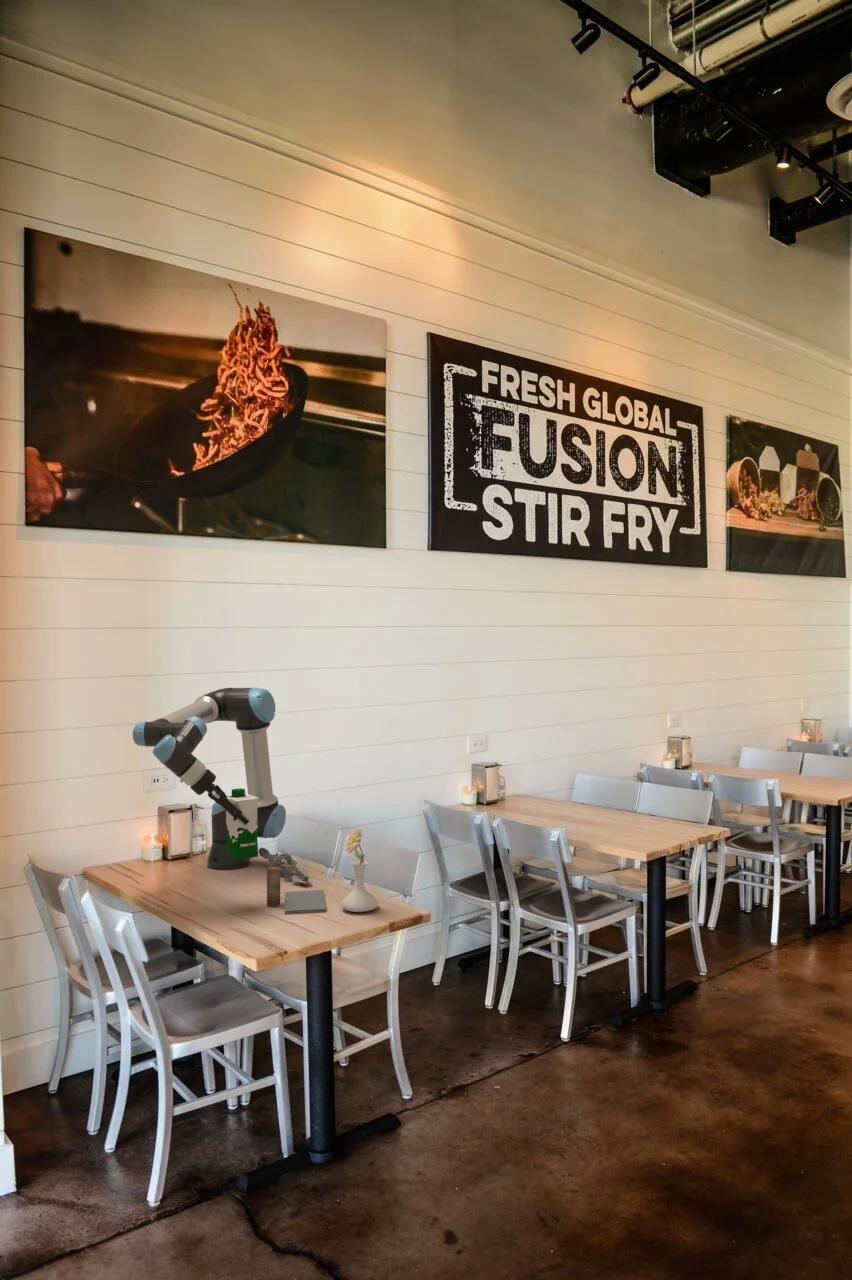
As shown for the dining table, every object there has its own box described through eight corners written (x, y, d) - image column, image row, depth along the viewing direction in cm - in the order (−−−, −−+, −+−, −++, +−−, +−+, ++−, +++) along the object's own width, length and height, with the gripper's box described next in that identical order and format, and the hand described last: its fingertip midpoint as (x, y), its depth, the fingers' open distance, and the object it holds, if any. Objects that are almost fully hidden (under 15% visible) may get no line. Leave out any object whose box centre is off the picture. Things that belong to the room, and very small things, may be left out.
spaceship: (272, 841, 323) (253, 836, 319) (321, 871, 296) (302, 866, 291) (263, 863, 322) (245, 858, 317) (312, 895, 294) (293, 890, 290)
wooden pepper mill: (266, 903, 275) (267, 867, 275) (280, 902, 276) (280, 866, 276) (266, 907, 271) (266, 870, 272) (280, 906, 272) (280, 870, 272)
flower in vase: (341, 904, 274) (340, 822, 274) (378, 903, 275) (378, 821, 275) (340, 917, 261) (339, 831, 261) (379, 916, 262) (378, 830, 262)
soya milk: (248, 851, 278) (247, 786, 278) (262, 857, 271) (262, 790, 271) (222, 856, 273) (221, 790, 272) (236, 862, 266) (235, 794, 266)
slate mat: (285, 894, 284) (285, 891, 284) (323, 892, 286) (323, 889, 286) (285, 914, 264) (285, 910, 264) (326, 912, 266) (326, 908, 266)
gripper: (186, 781, 277) (239, 828, 283) (192, 793, 256) (248, 844, 262) (203, 762, 279) (256, 810, 284) (210, 773, 258) (267, 824, 263)
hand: (252, 826), depth 273 cm, fingers closed on soya milk, 9 cm apart
